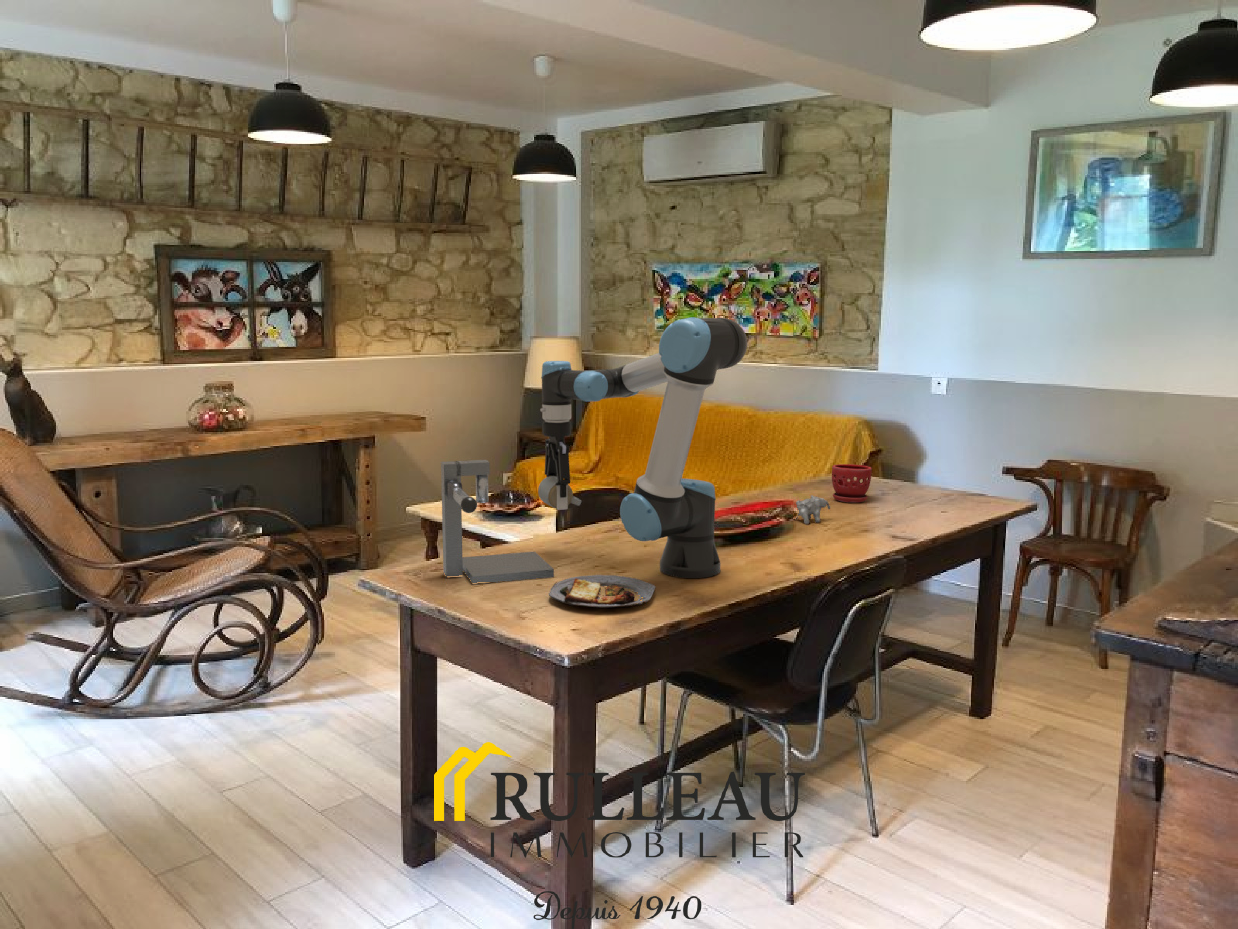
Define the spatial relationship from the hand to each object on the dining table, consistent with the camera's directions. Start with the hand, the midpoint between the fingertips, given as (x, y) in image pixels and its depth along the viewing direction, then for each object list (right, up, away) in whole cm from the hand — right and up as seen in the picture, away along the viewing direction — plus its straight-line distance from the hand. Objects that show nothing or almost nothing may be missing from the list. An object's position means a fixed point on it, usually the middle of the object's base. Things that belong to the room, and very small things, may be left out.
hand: (557, 505), depth 256 cm
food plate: (+13, -20, -35) cm, 42 cm away
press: (-14, -16, -15) cm, 26 cm away
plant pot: (+95, -2, +75) cm, 122 cm away
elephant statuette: (+76, -7, +44) cm, 88 cm away
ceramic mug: (+1, 0, +1) cm, 1 cm away
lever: (-20, +1, -34) cm, 40 cm away
